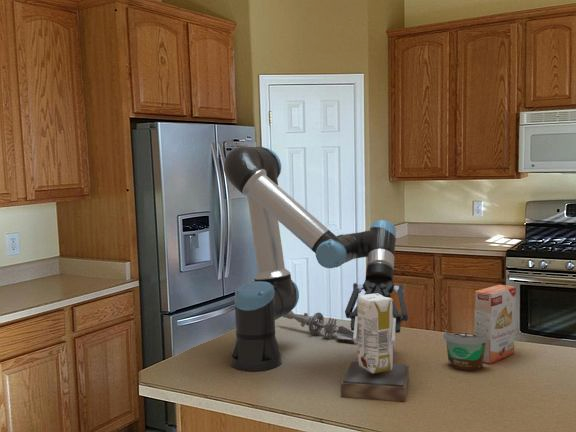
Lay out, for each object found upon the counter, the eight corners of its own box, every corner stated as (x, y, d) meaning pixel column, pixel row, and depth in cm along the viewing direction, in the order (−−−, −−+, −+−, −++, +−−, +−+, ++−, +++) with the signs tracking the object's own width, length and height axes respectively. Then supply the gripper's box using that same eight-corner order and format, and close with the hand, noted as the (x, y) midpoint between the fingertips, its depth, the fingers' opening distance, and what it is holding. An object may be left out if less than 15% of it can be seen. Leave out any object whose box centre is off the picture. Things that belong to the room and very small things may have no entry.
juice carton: (371, 375, 154) (370, 301, 152) (354, 365, 161) (353, 294, 160) (396, 370, 157) (396, 298, 155) (379, 360, 164) (378, 291, 163)
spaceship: (288, 302, 224) (275, 298, 218) (367, 327, 201) (355, 323, 195) (281, 323, 223) (268, 319, 217) (360, 351, 200) (347, 348, 194)
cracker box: (491, 365, 175) (492, 293, 173) (472, 360, 180) (473, 290, 178) (516, 354, 184) (516, 286, 182) (497, 349, 189) (498, 283, 187)
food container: (441, 370, 172) (441, 335, 171) (443, 363, 178) (443, 329, 177) (487, 374, 168) (487, 339, 167) (487, 367, 173) (488, 332, 172)
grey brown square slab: (341, 396, 154) (340, 381, 154) (350, 374, 170) (350, 360, 169) (405, 401, 150) (405, 385, 150) (408, 378, 166) (408, 364, 165)
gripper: (420, 277, 170) (417, 351, 156) (342, 275, 175) (334, 346, 161) (419, 262, 164) (417, 337, 150) (339, 260, 169) (330, 332, 156)
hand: (374, 341), depth 156 cm, fingers closed on juice carton, 9 cm apart
